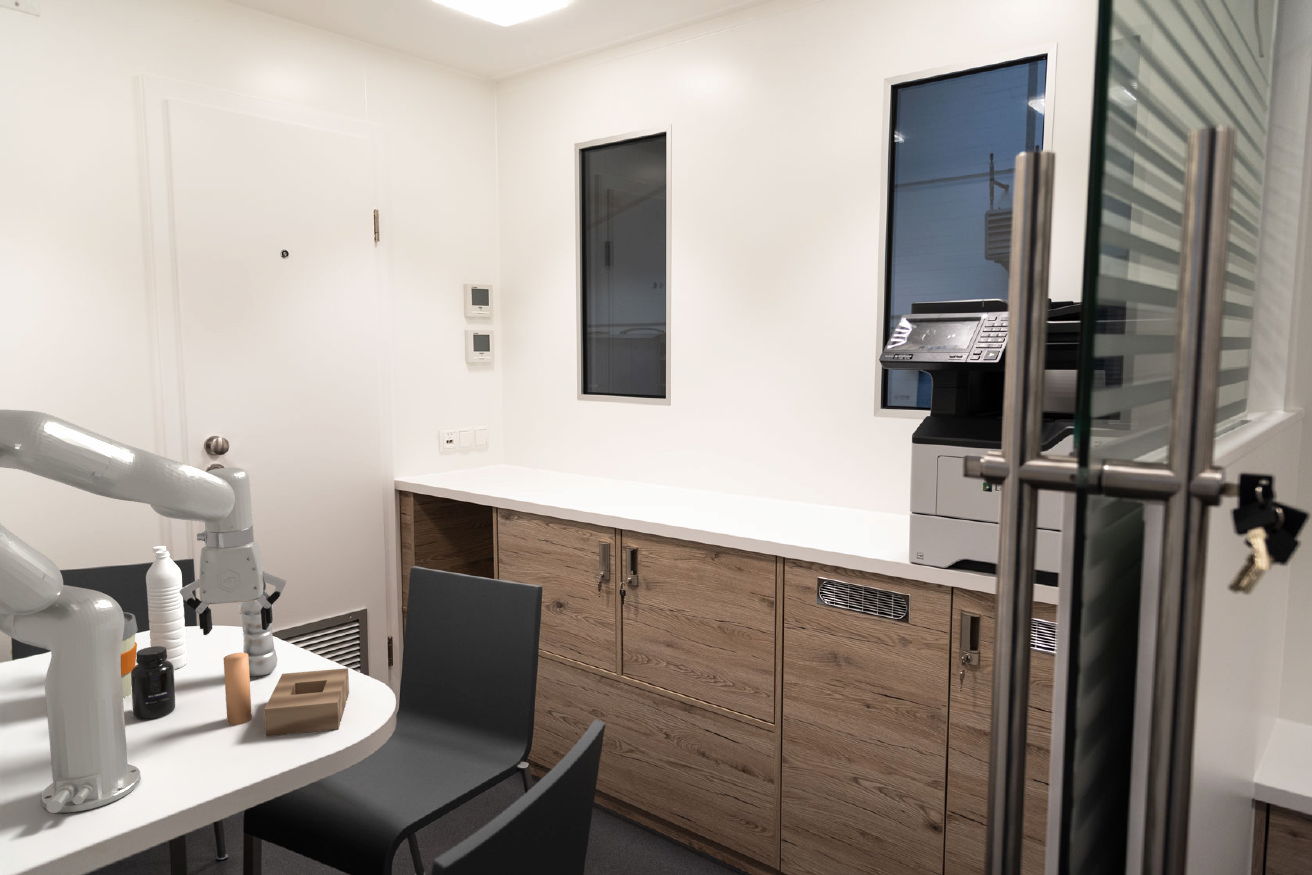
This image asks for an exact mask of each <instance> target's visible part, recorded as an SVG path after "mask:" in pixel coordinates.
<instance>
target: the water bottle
mask: <svg viewBox="0 0 1312 875" xmlns="http://www.w3.org/2000/svg"><path fill="white" fill-rule="evenodd" d="M152 553H154V554H155V556H154V557H155V560H154V561H153V562H152V564H151V566H149V569H148V570H147V572H146V574H145V584H146V595H147V610H148V616H147V617H148V621H149V622H148V627H149V639H150V642H149V645H150V647H154V646H162V647H166V649H167V659H166V660H168V661H170V662H171V663H172V664H173V666H174V671H175V670H178V669H180V668H183V667H184V666H186V665H187V664H188V653H187V642H186V638H187V635H186V626H185V625H186V624H185V623H186V622H185V607H184V598H183V597H182V595H181V594H180V590H181V589H182V588H183V577H182V576H183V575H182V571H181V568H180V567H179V566H178V565H177V563H175V562H174V561H173V559H172V558H171V557H170V556H171V554H170V550H167V546H166V545H157V546H153V547H152Z"/></svg>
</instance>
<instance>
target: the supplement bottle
mask: <svg viewBox="0 0 1312 875" xmlns="http://www.w3.org/2000/svg"><path fill="white" fill-rule="evenodd" d="M166 659H167V649H166V647H162V646H154V647H151V646H149V647H144V648H141V649H139V650H138V651H136V664H135V667H134V668H133V669H132V671H131V703H132V715H133V717H134V718H135V719H138V720H141V721H142V720H143V721H145V720H154V719H159V718H163V717H167V716H168V715H169V714H172V713H173V712H174V710H175V709H176V690H175V689H176V687H175V684H176V683H175V670H174V666H173V664H172V663H171V662H170V661H168V660H166Z"/></svg>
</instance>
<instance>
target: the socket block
mask: <svg viewBox="0 0 1312 875" xmlns="http://www.w3.org/2000/svg"><path fill="white" fill-rule="evenodd" d="M349 676H350V675H349V668H348V667H346V668H335V669H334V668H333V669H332V668H331V669H323V670H311V671H299V672H289V673H288V672H287V673H281V676H280V678H279V680H278V681H277V684H276V686H275V687H274V689H273V690H272V694H271V695H270V698H269V699H268V701H267V703H266V705H265V707H264V709H263V710H264V726H265V727H264V729H265V737H274V736H285V735H293V734H294V735H295V734H303V733H314V731H316V732H324V731H333V730H332V729H336V730H339V729H340V726H341V723H342V720H343V719H342V718H343V715H344V711H345V709H346V704H347V702H346V701H348V698H349V695H350V682H349ZM344 708H345V709H344ZM340 722H341V723H340Z"/></svg>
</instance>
